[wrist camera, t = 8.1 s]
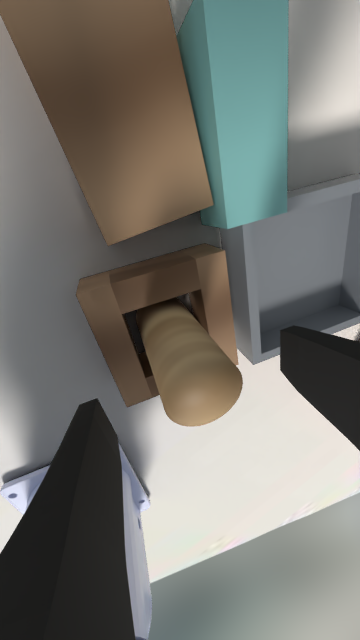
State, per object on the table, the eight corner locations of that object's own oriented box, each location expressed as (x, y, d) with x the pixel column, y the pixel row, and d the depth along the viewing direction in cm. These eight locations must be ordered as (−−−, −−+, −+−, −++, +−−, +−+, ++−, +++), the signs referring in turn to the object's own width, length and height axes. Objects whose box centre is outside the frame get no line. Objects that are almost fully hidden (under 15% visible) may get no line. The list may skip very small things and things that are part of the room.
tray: (337, 306, 19) (368, 319, 16) (233, 344, 17) (253, 364, 15) (353, 174, 14) (398, 168, 12) (217, 210, 13) (241, 210, 11)
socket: (220, 343, 17) (238, 364, 15) (123, 379, 16) (127, 407, 13) (204, 243, 13) (224, 250, 11) (79, 279, 12) (75, 294, 10)
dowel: (188, 329, 16) (245, 407, 9) (143, 344, 15) (174, 437, 9) (178, 286, 14) (238, 346, 8) (129, 302, 14) (153, 378, 8)
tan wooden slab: (194, 205, 13) (213, 205, 11) (106, 239, 12) (107, 246, 10) (135, -21, 9) (147, -94, 7) (3, 14, 8) (-32, -53, 6)
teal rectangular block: (250, 211, 13) (287, 212, 11) (201, 224, 13) (227, 229, 10) (240, 34, 10) (288, -26, 8) (173, 43, 10) (201, -17, 7)
